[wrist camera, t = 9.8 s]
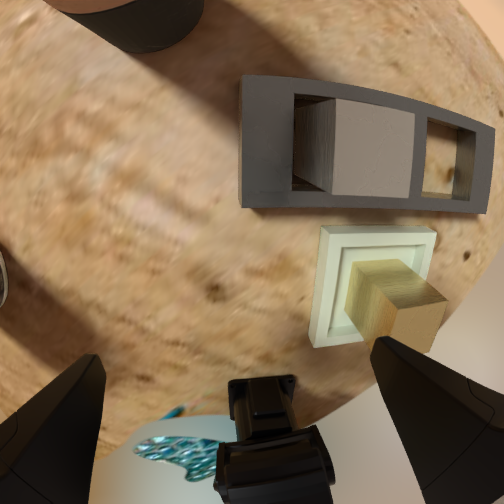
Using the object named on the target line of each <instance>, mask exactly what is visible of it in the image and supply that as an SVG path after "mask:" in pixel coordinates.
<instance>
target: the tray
mask: <svg viewBox="0 0 504 504" xmlns="http://www.w3.org/2000/svg"><path fill="white" fill-rule="evenodd" d="M436 234H437V232H435V231H433V230H431V229H429V228H428V227H426V226H396V225H358V226H321V231H320V242H319V252H318V262H317V271H316V279H315V288H314V296H313V303H312V311H311V318H310V325H309V332H308V336H309V339H310V341H311V343H312V345H313V348H319V347H327V346H334V345H341V344H347V343H353V342H359V341H364V339H363V338H362V336H361V335H360V333H359V332H358V330H357V329H356V327H355V326H354V324H353V323H352V321H351V320H350V318H349V317H348V315H347V314H346V312H345V311H344V307H345V302H346V297H347V291H348V285H349V279H350V273H351V267H352V262H354V261H370V260H385V259H399V260H401V261H402V262H403V263H404V264H406V265H407V266H408V267H409V268H411V269H412V270H413V271H414V272H415V273H417V274H418V275H419V276H420V277H422V278H423V279H424V280H425V281H426V277H427V273H428V269H429V265H430V261H431V257H432V253H433V248H434V244H435V239H436Z"/></svg>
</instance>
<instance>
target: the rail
mask: <svg viewBox="0 0 504 504" xmlns="http://www.w3.org/2000/svg"><path fill="white" fill-rule="evenodd" d="M294 98H295V99H307V100H317V101H328V100H332V99H343V100H350V101H356V102H362V103H367V104H373V105H378V106H383V107H388V108H392V109H397V110H401V111H405V112H409V113H413V114H415V124H414V145H413V159H412V170H411V180H410V189H409V197H408V198H396V197H378V196H356V195H332V194H330V193H328V192H326V191H324V190H323V189H321V188H319V187H317V186H315V185H292V165H293V129H294ZM427 121H430V122H433V123H437V124H440V125H444V126H447V127H450V128H454V129H457V130H458V139H457V154H456V166H455V175H454V184H453V191H452V195H451V194H443V193H433V192H423V191H422V185H423V176H424V166H425V154H426V138H427ZM494 145H495V128H493V127H490V126H488V125H486V124H483V123H481V122H479V121H476V120H474V119H471V118H468V117H466V116H463V115H461V114H458V113H455V112H452V111H449V110H446V109H443V108H440V107H437V106H434V105H431V104H428V103H425V102H421V101H418V100H414V99H411V98H407V97H403V96H399V95H395V94H391V93H387V92H383V91H378V90H374V89H369V88H364V87H359V86H353V85H347V84H341V83H335V82H328V81H321V80H313V79H304V78H294V77H283V76H267V75H242V77H241V79H240V81H239V165H238V199H239V202H240V205H241V208H269V207H338V208H383V209H410V210H430V211H448V212H463V213H477V214H486V211H487V206H488V200H489V193H490V186H491V178H492V170H493V159H494Z"/></svg>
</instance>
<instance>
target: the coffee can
mask: <svg viewBox="0 0 504 504" xmlns="http://www.w3.org/2000/svg"><path fill="white" fill-rule="evenodd" d="M7 292H8V276H7V271H6V266H5V262H4V259H3V256H2V253H1V251H0V307H1V306H2V305H3V304H4V302H5V300H6V297H7Z"/></svg>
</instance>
